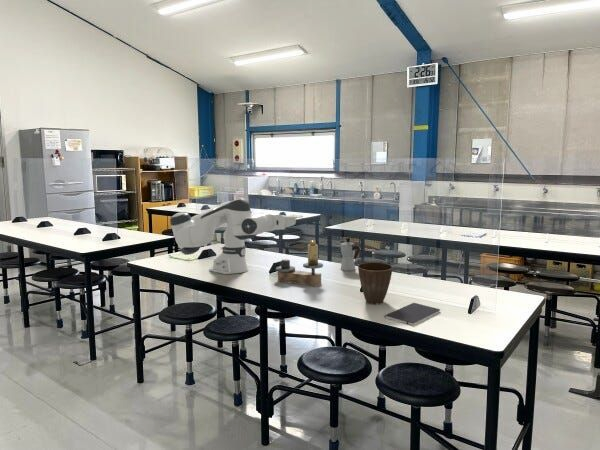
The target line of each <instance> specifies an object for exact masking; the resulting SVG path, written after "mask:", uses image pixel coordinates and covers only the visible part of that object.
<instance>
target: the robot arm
mask: <svg viewBox="0 0 600 450" xmlns="http://www.w3.org/2000/svg"><path fill="white" fill-rule="evenodd" d="M296 221H297V220H296V217H295V216H291V215H290V216H289V215H285V214H284V215H283V214H278V213H275V212H272V211H265V212H261V213H257V214H253V215H252V213H251V205H250V202H249V201H247V199H245V198H240V197H239V198H236V199H233V200H231V201H229V200H228V201H224V202H222V203H220V204H218V205H217V206H215V207H214V208H210V209H209V210H206V211H204V212H203V211H202V212H201V213H198V214H196V215H193V216H191V215H190V213H188V212H186V211H185V212H182V211H181V212H177V213H175V214H173V215H172V216H171V217H170V219H169V223H170V226H171V229H172V230H171V231H172V232H173V233H172V234H173V236H174V239H175V242H176V244H177V245H178V247H179V250H180V252H181V253H182V254H183V255H194V254H196V253H197V252H198V251H199V250H200V249H201V247H202V246H203V247H204V246H206V245H208V244H210V243H211V242H212V241H213V238H214V237H215V233H216V230H218V229H220V227H221V226H223V225H225V224H226V227H225V228H226V229H225V230H224V233H223V239H224V245H223V246H222V247H221V248H220V250H222V252H221V253H220V254H218V256H216V257H215V258H214V259H213V263H212V266H210V267H209V268H208V270H209V272H215V273H218V274H223V275H229V274H240V273H241V274H242V273H246V272H248V271H249V268H248V267H249V266H248V265H247V259H246V245H245V240H249V239H252V238H255V237H256V236H257V235H260V234H263V233H268V232H273V231H275V230H276V231H280V230H283V231H284V230H286V228H289V227H292V226H295V225H296V223H297V222H296Z"/></svg>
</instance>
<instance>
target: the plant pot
mask: <svg viewBox="0 0 600 450" xmlns="http://www.w3.org/2000/svg"><path fill="white" fill-rule="evenodd" d="M357 268H358V275H359V277H358V278H359V281H360V286H361V290H362V293H363V296H364V299H365V302H366V303H367V304H371V305H380V304H383V302H384V301H385V298H386V296H387V293H388V291H389V290H388V289H389V286H390V283H391V280H392V273H393V269H394V268H393V266H392V265H391V264H389V263H385V262H373V261H372V262H364V263H360V264H358V265H357Z"/></svg>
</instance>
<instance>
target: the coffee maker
mask: <svg viewBox="0 0 600 450" xmlns="http://www.w3.org/2000/svg"><path fill="white" fill-rule="evenodd" d="M345 240H346V241H345V242H342V243H339V245H340V251H341V252H340V253H341V256H342V258H341V264H340V271H345V272H354V271H356V265H355V259H357V257H358V255H359V253H360V251H361V248H360V246H359V245H358V244H356V243H354V242H351V238H350V237H345Z"/></svg>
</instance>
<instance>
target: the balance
mask: <svg viewBox="0 0 600 450" xmlns="http://www.w3.org/2000/svg"><path fill="white" fill-rule="evenodd" d="M290 261H291V260H290V259H281V260H280V263H281V265H279V266H276V267H275V271H276V272H277V281H278V282H283V283H291V284H298V285H306V286H312V287H317V286H319V285H321V284H322V273H321V272H320V273H318V272H316V269H321V268H323V267H324V263H322V262H318V265H316V266H310V265H308V262H305V263H303V264H302V267H303V268H305V269H310V270H311V271H305V270H304V271H303V270H296V267H295V266H293V265H291V263H290Z"/></svg>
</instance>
